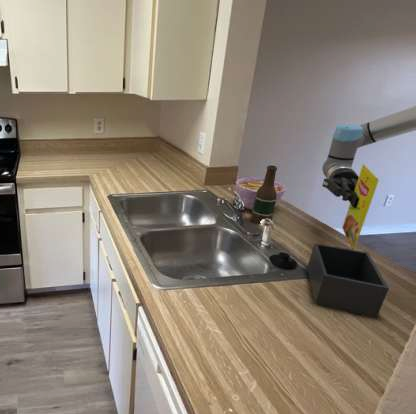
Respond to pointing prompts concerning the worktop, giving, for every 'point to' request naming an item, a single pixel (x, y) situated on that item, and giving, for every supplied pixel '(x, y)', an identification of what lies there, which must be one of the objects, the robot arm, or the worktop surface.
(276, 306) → the worktop surface
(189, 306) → the worktop surface
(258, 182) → the bowl of food
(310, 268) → the storage bin
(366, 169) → the food package
